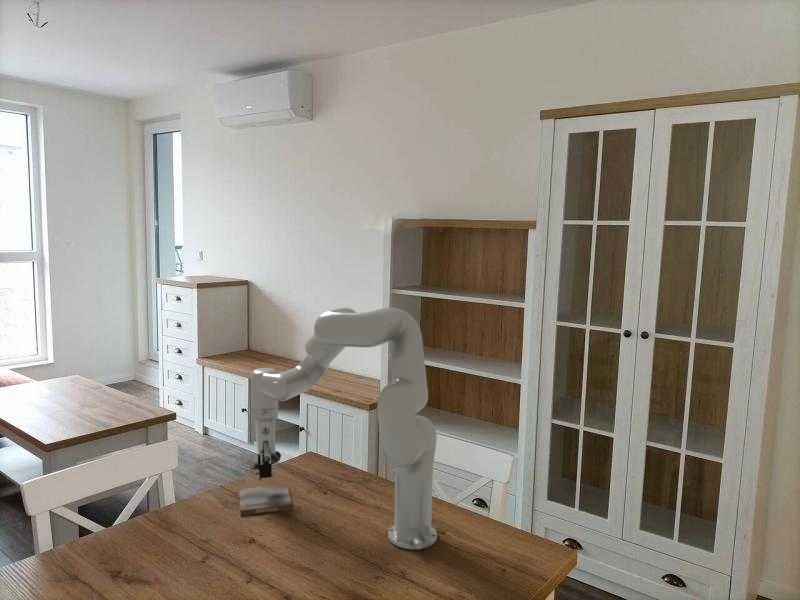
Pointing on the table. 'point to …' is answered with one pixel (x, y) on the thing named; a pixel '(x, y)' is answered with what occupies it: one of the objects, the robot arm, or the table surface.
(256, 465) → the eagle figurine
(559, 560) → the table surface
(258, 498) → the wooden picture frame
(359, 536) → the table surface
